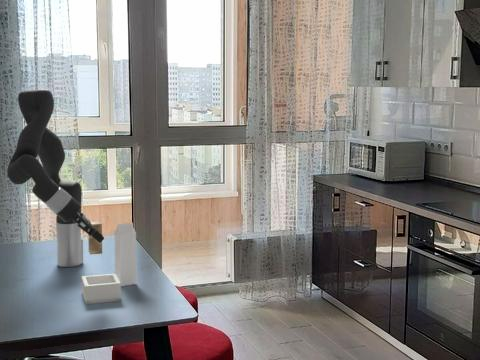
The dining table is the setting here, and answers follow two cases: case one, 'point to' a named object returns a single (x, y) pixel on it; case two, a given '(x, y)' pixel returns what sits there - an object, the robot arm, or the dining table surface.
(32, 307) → the dining table surface
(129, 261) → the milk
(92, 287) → the white well
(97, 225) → the beech post
